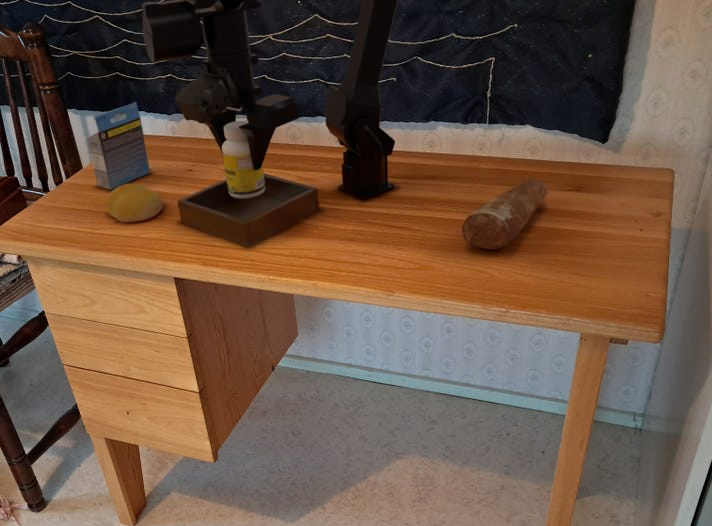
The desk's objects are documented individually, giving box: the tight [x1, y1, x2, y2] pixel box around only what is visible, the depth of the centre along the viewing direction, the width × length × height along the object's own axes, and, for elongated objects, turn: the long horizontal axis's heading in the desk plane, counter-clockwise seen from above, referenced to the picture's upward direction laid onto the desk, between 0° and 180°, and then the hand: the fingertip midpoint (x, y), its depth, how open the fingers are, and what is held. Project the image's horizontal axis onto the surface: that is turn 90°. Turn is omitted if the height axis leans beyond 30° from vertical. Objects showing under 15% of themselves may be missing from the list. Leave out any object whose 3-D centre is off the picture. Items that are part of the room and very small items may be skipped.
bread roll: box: [104, 183, 164, 223], centre depth 113 cm, size 8×9×4 cm
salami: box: [461, 178, 548, 250], centre depth 98 cm, size 6×19×6 cm, turn 144°
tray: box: [177, 173, 320, 248], centre depth 109 cm, size 15×15×4 cm
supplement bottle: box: [221, 120, 265, 199], centre depth 105 cm, size 5×5×10 cm
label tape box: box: [86, 101, 151, 191], centre depth 123 cm, size 9×4×12 cm, turn 141°
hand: (243, 165), depth 105 cm, fingers closed on supplement bottle, 5 cm apart
